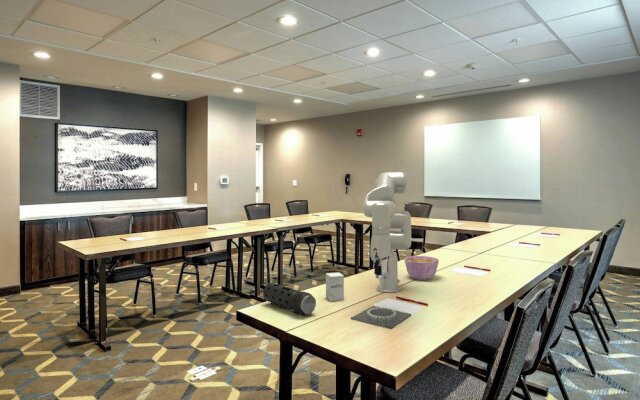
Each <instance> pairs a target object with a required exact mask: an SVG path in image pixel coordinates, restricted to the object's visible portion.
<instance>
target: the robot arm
mask: <svg viewBox="0 0 640 400" xmlns="http://www.w3.org/2000/svg"><path fill="white" fill-rule="evenodd" d="M409 186H410V183H409V177H408V175H407V174H406V173H405V172H403V171H386V172H381V173H380V174H379V176H378V177H377V179H375V181H374V188H373V189H372V190H371V191H369V192H368V193H367V194H366V195H365V197H364V200H363V205H362V211H363V214H364V216H365V217H367V218H371V222H372V223H371V226H372V227H371V230H372V231H371V239H370V256H369V257H370V258H371V261H372V262H373V266H374V268H373V269H374V272H373V273H374V275H382V266H381V259H382V258H386V259H387V278H386V279H379V285H377V286H376V290H377V291H378V292H381V293H387V294H388V293H390V294H391V293H398V292H400V291H401V287H400V286H399V283H400V282H401V279H399V278H398V256H397V254H396V252H395V251H394V250H409V249H410V248H411V246H412V217H411V214H410V212H409V211H407V210H397V200H396V198H395V197H394V195H395V194H397V195H398V194H401V195H402V194H403V195H404V194H407V193H408V191H409V188H410V187H409ZM391 229H396V230H391ZM397 229H400V230H397ZM401 230H402V231H401ZM378 260H379V262H378Z"/></svg>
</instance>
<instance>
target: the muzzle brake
mask: <svg viewBox="0 0 640 400" xmlns="http://www.w3.org/2000/svg"><path fill="white" fill-rule="evenodd" d="M262 296H263V298H264V300H265V301H267V302H269V303H270V302H271V303H272V304H271V303H270V304H271V305H274V304H275V305H274V306H277V307H279V306H280V308H282V307H283V308H284V309H286V310H288V309H289V310H290V311H293V312H296V313H295V314H297V313H299V314H298V315H303V316H304V315H311V314H313V312H314V311H315V309H316V306H317V300H316V298H315V297H314V295H312V294H311V293H309V292H307V291H301V290H298V289H295V288H291V287H288V286H285V285H281V284H278V283H274V282H270V283H268V284H266V286H265V287H264V289H263V295H262ZM283 308H282V309H283ZM287 308H288V309H287Z"/></svg>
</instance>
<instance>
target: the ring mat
mask: <svg viewBox="0 0 640 400" xmlns="http://www.w3.org/2000/svg"><path fill="white" fill-rule="evenodd" d="M411 316H412V313H408V312H404V311H399V310H394V309H392V308H388V307H380V306H375V305H372V306H370V307H368V308H366V309H365V310H363V311H360V312H358V313H357V314H355V315H353V316H351V317H350V319H351V320H353V321H357V322H362V323H364V324H369V325H374V326H377V327H382V328H386V329H390V330H392V329H394V328H395V327H397V326H398V325H399V324H401V323H403V322H404V321H405V320H407V319H409V318H410V317H411Z"/></svg>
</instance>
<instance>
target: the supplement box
mask: <svg viewBox="0 0 640 400" xmlns="http://www.w3.org/2000/svg"><path fill="white" fill-rule="evenodd" d="M344 279H345V275H344V274H342V273H341V272H326V273H325V298H326V299H327V301H329V302H330V303H331V302H340V301H345V286H344V283H345V280H344Z"/></svg>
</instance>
